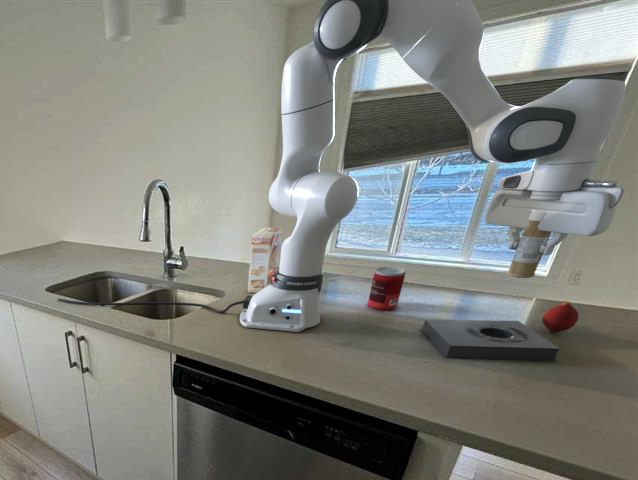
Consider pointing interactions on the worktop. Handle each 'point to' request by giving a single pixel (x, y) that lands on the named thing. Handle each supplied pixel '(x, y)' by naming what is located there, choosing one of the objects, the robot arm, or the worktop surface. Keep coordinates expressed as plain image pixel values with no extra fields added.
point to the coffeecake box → (263, 257)
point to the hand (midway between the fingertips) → (528, 251)
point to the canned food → (386, 288)
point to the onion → (560, 317)
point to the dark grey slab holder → (488, 340)
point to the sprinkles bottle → (529, 248)
